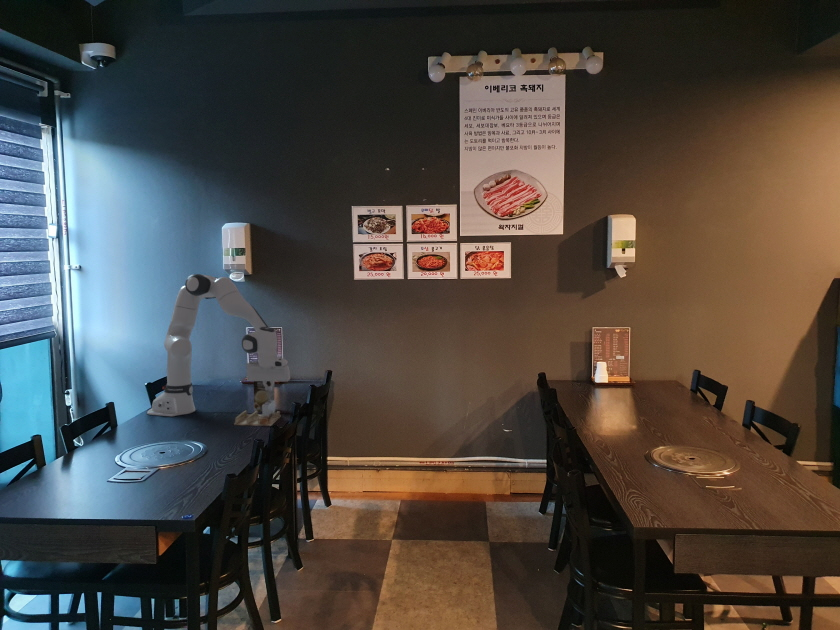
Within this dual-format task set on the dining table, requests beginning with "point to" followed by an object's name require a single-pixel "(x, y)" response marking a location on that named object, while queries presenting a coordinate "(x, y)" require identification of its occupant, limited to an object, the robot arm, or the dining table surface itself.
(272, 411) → the panel
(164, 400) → the robot arm
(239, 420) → the rack
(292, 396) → the dining table surface
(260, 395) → the coffee box
